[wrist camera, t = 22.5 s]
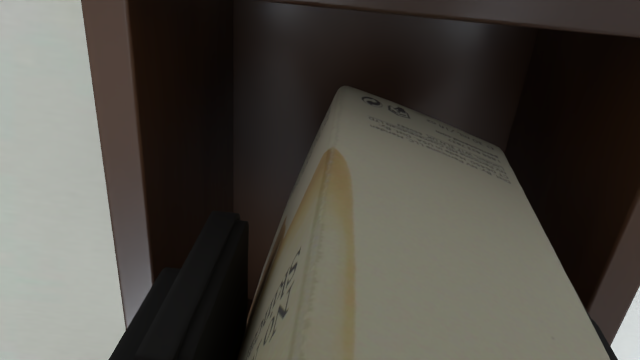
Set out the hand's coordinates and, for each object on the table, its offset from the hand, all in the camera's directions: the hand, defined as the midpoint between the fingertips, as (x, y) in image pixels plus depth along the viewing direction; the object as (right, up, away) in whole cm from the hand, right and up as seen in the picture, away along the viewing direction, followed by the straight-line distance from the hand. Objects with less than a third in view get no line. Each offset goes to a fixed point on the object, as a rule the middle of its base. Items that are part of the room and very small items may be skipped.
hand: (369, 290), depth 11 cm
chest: (+1, +3, +9) cm, 10 cm away
